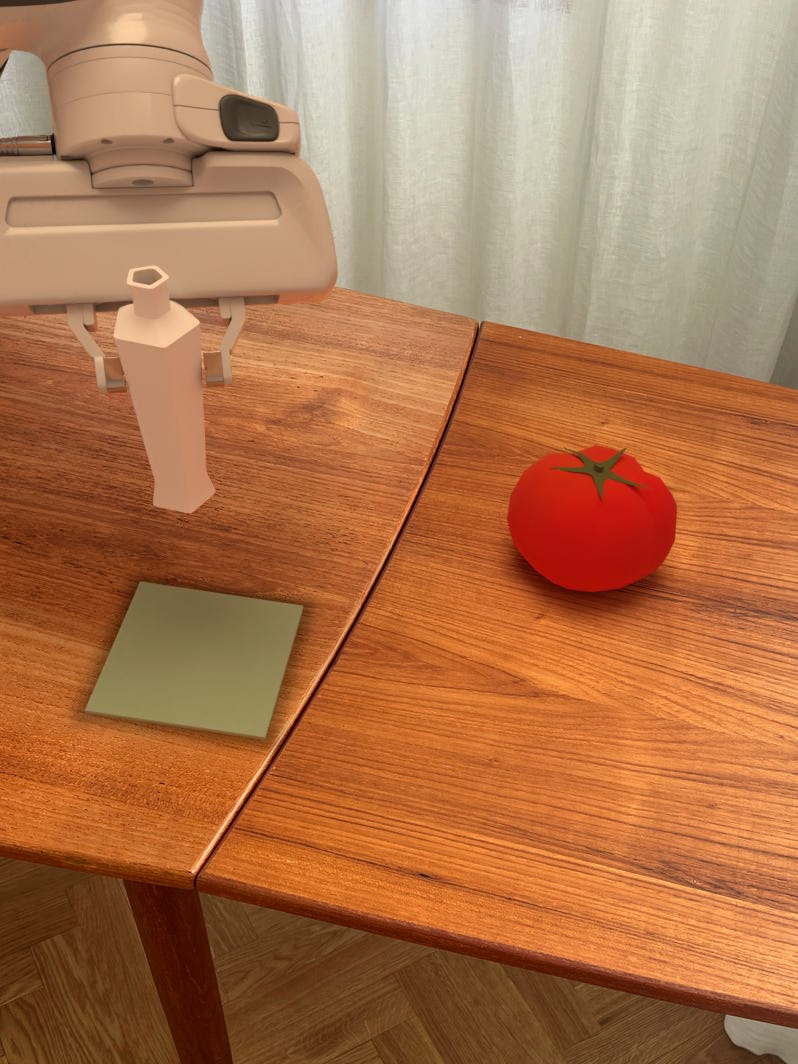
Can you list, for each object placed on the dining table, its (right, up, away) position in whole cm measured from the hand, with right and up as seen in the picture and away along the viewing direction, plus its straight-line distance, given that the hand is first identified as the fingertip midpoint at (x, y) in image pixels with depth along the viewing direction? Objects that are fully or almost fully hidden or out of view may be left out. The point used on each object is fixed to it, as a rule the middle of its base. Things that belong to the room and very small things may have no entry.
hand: (167, 389), depth 64 cm
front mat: (-2, -16, +15) cm, 22 cm away
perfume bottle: (-1, -5, +7) cm, 9 cm away
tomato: (+25, -8, +26) cm, 37 cm away
